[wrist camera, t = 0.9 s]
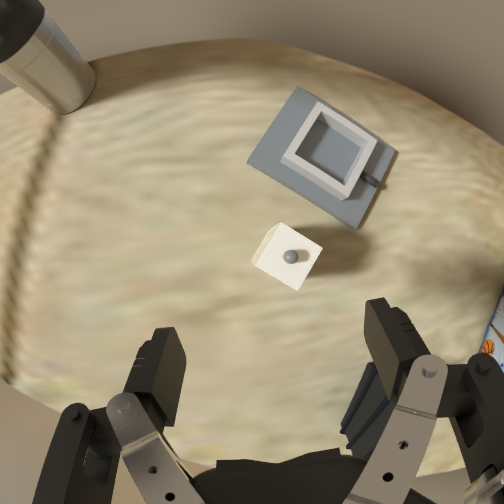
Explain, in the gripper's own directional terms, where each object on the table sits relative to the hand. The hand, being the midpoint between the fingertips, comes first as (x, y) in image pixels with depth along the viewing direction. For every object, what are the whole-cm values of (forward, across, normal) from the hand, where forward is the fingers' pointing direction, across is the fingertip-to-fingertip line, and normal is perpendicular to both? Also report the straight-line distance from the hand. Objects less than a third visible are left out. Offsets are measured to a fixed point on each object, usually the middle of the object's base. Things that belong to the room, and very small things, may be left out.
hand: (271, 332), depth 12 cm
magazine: (+16, -10, +30) cm, 36 cm away
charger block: (+24, -1, +9) cm, 26 cm away
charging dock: (+30, -9, -1) cm, 32 cm away
